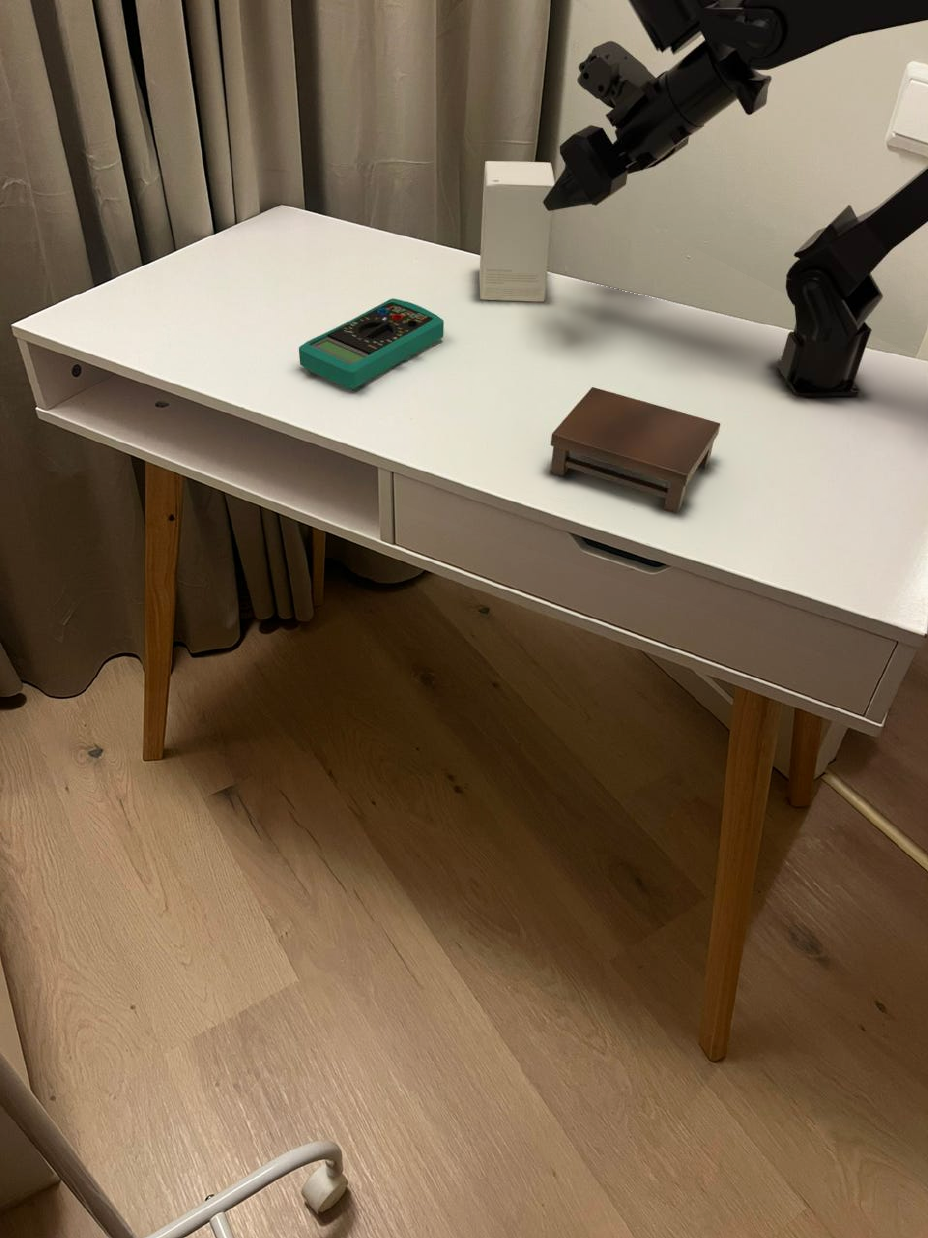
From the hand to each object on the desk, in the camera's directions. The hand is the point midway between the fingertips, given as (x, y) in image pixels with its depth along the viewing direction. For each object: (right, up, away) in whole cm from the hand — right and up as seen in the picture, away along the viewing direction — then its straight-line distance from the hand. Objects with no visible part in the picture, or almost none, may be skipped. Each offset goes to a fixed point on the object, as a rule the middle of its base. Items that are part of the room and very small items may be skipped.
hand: (568, 192), depth 102 cm
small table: (+4, -31, -15) cm, 34 cm away
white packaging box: (-5, -6, +10) cm, 13 cm away
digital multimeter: (-20, -17, -2) cm, 26 cm away
